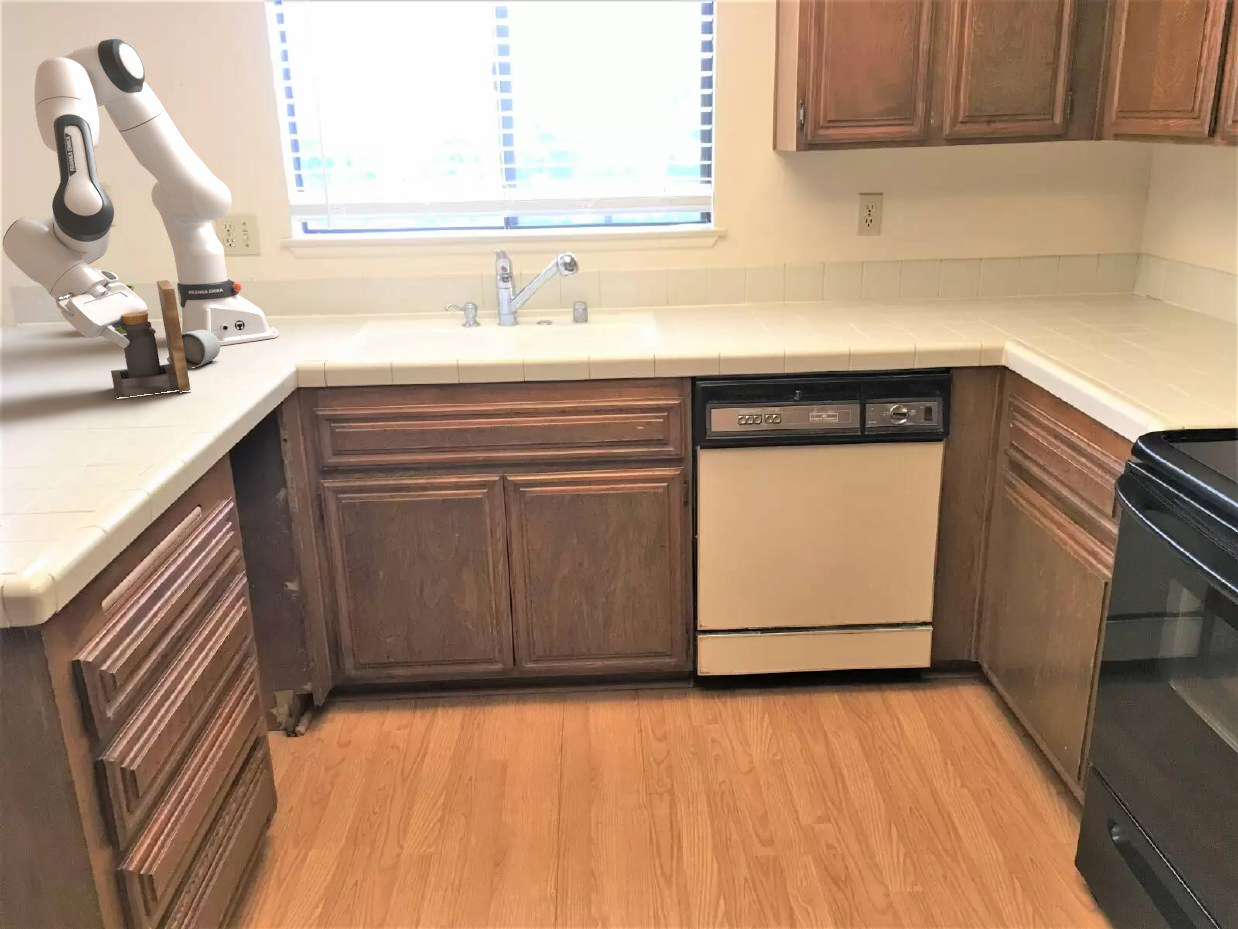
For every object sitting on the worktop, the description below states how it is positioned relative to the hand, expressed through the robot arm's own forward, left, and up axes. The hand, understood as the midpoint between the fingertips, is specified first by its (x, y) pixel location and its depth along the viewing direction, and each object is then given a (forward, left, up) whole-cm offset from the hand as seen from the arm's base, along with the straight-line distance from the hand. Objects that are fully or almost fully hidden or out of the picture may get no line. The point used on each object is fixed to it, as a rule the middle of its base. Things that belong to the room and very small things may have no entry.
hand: (140, 340), depth 194 cm
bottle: (0, 0, -10) cm, 10 cm away
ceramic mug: (-10, -20, -10) cm, 25 cm away
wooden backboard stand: (+1, 0, -10) cm, 10 cm away
